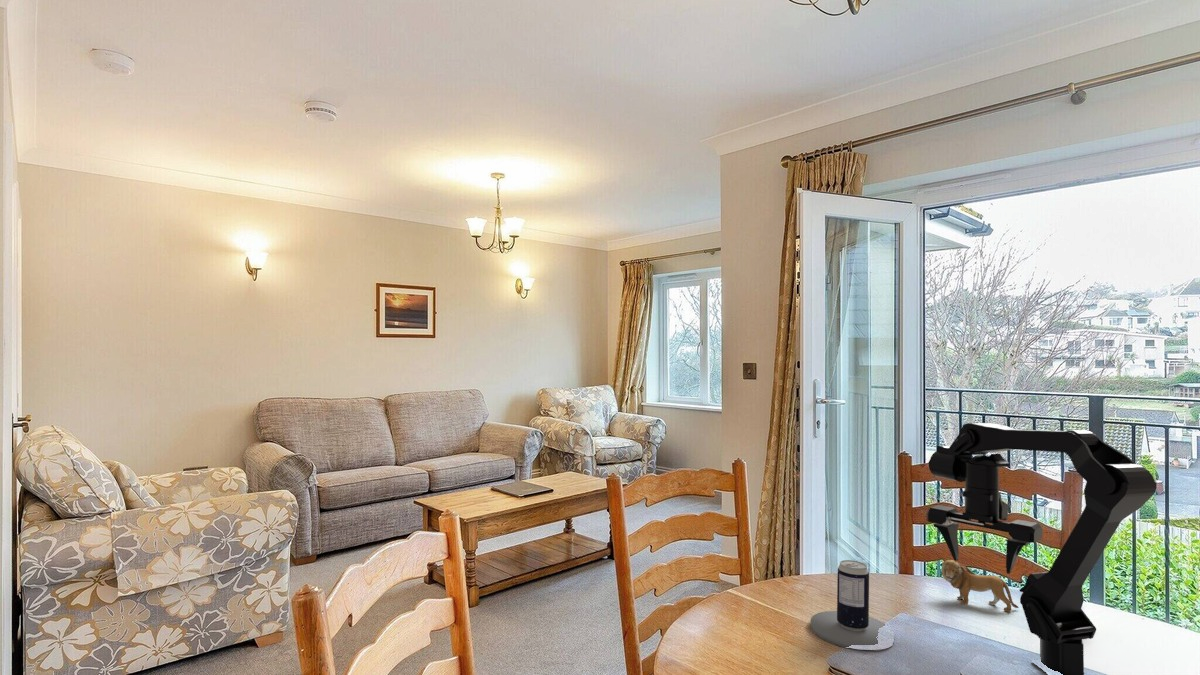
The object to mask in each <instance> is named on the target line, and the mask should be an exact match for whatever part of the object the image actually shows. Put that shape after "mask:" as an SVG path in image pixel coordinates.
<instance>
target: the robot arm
mask: <svg viewBox="0 0 1200 675" xmlns="http://www.w3.org/2000/svg"><path fill="white" fill-rule="evenodd" d="M1012 450H1020V451H1021V450H1022V451H1035V452H1054V453H1065V455H1067V456H1068V458H1070V461H1071V463H1072V466H1073V467H1074V469H1075V471H1076V473H1077V474H1078V475H1080V477H1081V478H1083V480H1085V486H1084V489H1083V494H1084V501H1085V507H1084V509H1083V511H1082V512H1081V514H1080V515H1079V518H1078V519H1077V521H1076V523H1075V525H1074V526H1073V528H1072V529H1071V532H1070V533H1069V535H1068V537H1067V538H1066V541H1065V542H1064V544H1063V546H1062V547H1061V549H1060V551H1059V553H1058V555H1057V556H1056V558H1055V559H1054V562H1053V563H1052V565H1051V567H1050V569H1049V570H1048V571H1042V572H1034V573H1033V572H1031V573H1030V574H1028V575H1027V578H1026V580H1025V583H1024V585H1023V587H1021V588H1020V589H1019V591H1018V592H1020V593H1021V595H1020V599H1019V603H1020V604H1021V606H1022V610H1023V613H1024V616H1025V619H1026V623H1027V625H1028V630H1029V632H1030V633H1031V634H1033V635H1036V636H1037V637H1038V639H1039V641H1040V642H1039V658H1040V657H1041V658H1040V659H1041V662H1042V663H1043V664H1044V665H1046V666H1047V667H1048V668H1050V669H1052V670H1054V671H1058V672H1060V673H1061V674H1063V675H1084V672H1085V670H1084V669H1085V663H1084V656H1085V655H1084V654H1085V653H1084V652H1085V651H1084V649H1085V648H1084V643H1083V640H1087V639H1091V640H1092V639H1094V636H1095V634H1096V632H1097V627H1096V625H1095V624H1094V623H1093V622H1092V621H1091V619H1090V618H1089V617H1088V616H1087V614H1086V613H1085V611H1084V610H1083V609H1082V607H1083V604H1084V598H1085V597H1084V593H1083V585H1084V584H1085V581H1086V580H1087V578H1088V577H1089V575H1090V573H1091V572H1092V570H1093V569H1094V567H1095V565H1096V563H1097V562H1098V560H1099V559H1100V558H1101V555H1102V554H1103V553H1104V550H1105V548H1106V547H1107V545H1108V544H1109V542H1110V541H1111V539H1112V537H1113V536H1114V534H1115V533H1116V531H1117V529H1118V527H1119V526H1120V524H1121V522H1122V521H1123V520H1124V519H1127V517H1129V516H1130V515H1132V514H1133V513H1135V512H1136V511H1138V510H1140V509H1141V508H1142V507H1143V506H1144V505H1145V504H1146V503H1147V502H1148V501H1149V500H1150V499H1151V498H1152V497H1153V496H1154V494H1156V491H1157V487H1158V484H1157V482H1156V480H1155V477H1154V476H1153V474H1152V473H1151V472H1150V470H1148V469H1147V468H1145V467H1144V466H1142V465H1140V464H1137V463H1136V462H1135V461H1134V460H1132V459H1131V458H1130V457H1129V456H1128V455H1127V454H1125V453H1124V452H1121V451H1120V450H1118V449H1116V448H1115V447H1112V446H1111V445H1109V444H1107V443H1106V442H1105V441H1104V440H1103V439H1101V437H1100V436H1098V435H1097V434H1095V433H1094V432H1092V431H1090V430H1087V429H1084V430H1081V429H1080V430H1079V429H1078V430H1075V429H1073V430H1045V429H1044V430H1042V429H1039V430H1038V429H1019V428H1018V429H1017V428H1013V427H1010V426H1008V425H1003V424H999V423H994V422H969V423H964V424H963V425H962V427H961V428H960V430H959V433H958V435H957V436H956V438H955V439H954V440H953V442H952V443H951V445H950V446H949V445H937V446H936V451H935V452H933V453H932V455H931V456H930V458H929V460H928V469H929V472H930V473H931V474H932V476H934V477H935V478H941V479H945V480H950V481H955V482H959V483H963V482H964V490H963V491H962V497H964V511H963V512H962V513H960V512H958V509H957V508H956V507H952V506H947V505H946V506H945V505H941V504H937V505H933V506H931V507H929V508H928V509H927V510H926V517H925V518H926V522H928V523H933V524H932V526H933V527H934V528H937V529H938V531H939V533H940V534H941V536H942V538H943V539H944V541H945V544H946V545H947V548H948V550H949V552H950V554H951V556H952V560H954V561H956V562H958V561H959V556H960V553H959V552H960V550H959V540H958V536H959V535H958V530H959V525H960V524H963V525H968V526H975V527H980V528H983V529H989V530H994V531H999V532H1005V533H1008V535H1009V536H1010V538H1008V539H1007V540H1006V551H1005V552H1006V554H1005V555H1006V556H1005V559H1006V560H1005V568H1006V574H1007V575H1008V574H1009V575H1010V574H1012V571H1013V570H1014V567H1015V564H1016V561H1017V559H1018V557H1019V554H1020V553H1021V551H1022V549H1023V548H1024V547H1025V546H1028V545H1030V544H1031V543H1032V544H1033V543H1036V542H1038V541H1039V540H1042V539H1043V528H1042V526H1041V525H1040V523H1039V522H1035V521H1034V522H1033V521H1030V520H1023V519H1014V520H1013V521H1011V522H1008V518H1009V507H1010V506H1009V504H1008V503H1007V502H1005V501H1003V500H1002V494H1001V492H1000V483H999V482H1000V473H999V472H1000V469H999V468H1009V467H1010V466H1011V463H1010V462H1009V461H1007V459H1005V458H1004V457H1003V456H1002V455H1001V454H1000V453H997V452H1004V451H1012ZM988 453H991V454H990V455H987V454H988ZM1056 623H1062V624H1061V625H1057V624H1056Z"/></svg>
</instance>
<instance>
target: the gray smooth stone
mask: <svg viewBox="0 0 1200 675" xmlns="http://www.w3.org/2000/svg"><path fill="white" fill-rule="evenodd" d="M885 624H886V623H885V622H883V621H881V620H878V619H876V618H874V617H871V616H869V625H868V627H866V628H865V629H864V630H863V631H851V630H847V629H845V628H843V627H842V626H841V624H840V623H839V622H838V621H837V610H828V611H821V612H817V613H815V614H813V615H812V616H811V618H810V629H811V631H812V632H813V634H814V635H815V636H816V637H817V638H819V639H821V640H822V641H825V642H827V643H829V644H832V645H834V646H838V647H840V648H844V649H847V648H846V647H849V646H851V645H875V644H878V640H877V638H878V637H877V636H878V633H879V632H878V630H879V628H881V627H883V626H885ZM876 637H877V638H876Z"/></svg>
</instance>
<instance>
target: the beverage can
mask: <svg viewBox="0 0 1200 675" xmlns="http://www.w3.org/2000/svg"><path fill="white" fill-rule="evenodd" d="M836 580H837V586H836V588H837V589H836V594H837V596H836V598H837V599H836V601H837V602H836V611H837V621H838V622H839V623H840V624H841V626H842V627H843V628H845V629H847V630H851V631H863V630H864V629H865V628H866V627H868V625H869V617H870V613H869V612H870V571H869V570H868V565H867V564H866V563H863V562H861V561H858V560H852V559H851V560H850V559H844V560H841V561H839V565H838V567H837V579H836Z"/></svg>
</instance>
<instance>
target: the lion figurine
mask: <svg viewBox="0 0 1200 675" xmlns="http://www.w3.org/2000/svg"><path fill="white" fill-rule="evenodd" d="M941 565H942V566H941V575H942V578H943V579H944V580H945V581H946V582H948V583H949V584H950V585H951V586H952V587H953V589H954V588H955V589H957V590H958V592H959V596H957V597H956V599H957V598H958V599H963V600H960V604H962V603H963V604H962V605H964V604H966V605H968V604H969V595H970V592H971V591H973V592H978V593H979V592H980V593H983V592H988V591H991V593H992V595H993V600H989V601H988V605H992V606H995V605H996V604H998V602H1000V601H1002V602H1003V603H1004V604H1005V606H1006V607H1004V608H1003V610H1004V612H1007V613H1011V612H1012V607H1013V608H1015V609H1019V606H1018V605H1017V604H1016V603H1014V602H1013V599H1012V595H1011V594H1012V593H1011V592H1010V589H1009V586H1008V585H1007V583H1006V581H1004V580H1003V579H1002V578H1000V577H999V576H997V575H983V574H976V573H975V572H973V571H972V570H971V569H970V568H968V567H967V566H964V565H963V564H961V563H960V562H958V561H954V559H946V560H945V561H943V562H942V563H941ZM1004 590H1005V591H1006V593H1005V591H1004ZM1006 595H1007V596H1006ZM958 599H957V600H958Z"/></svg>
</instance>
